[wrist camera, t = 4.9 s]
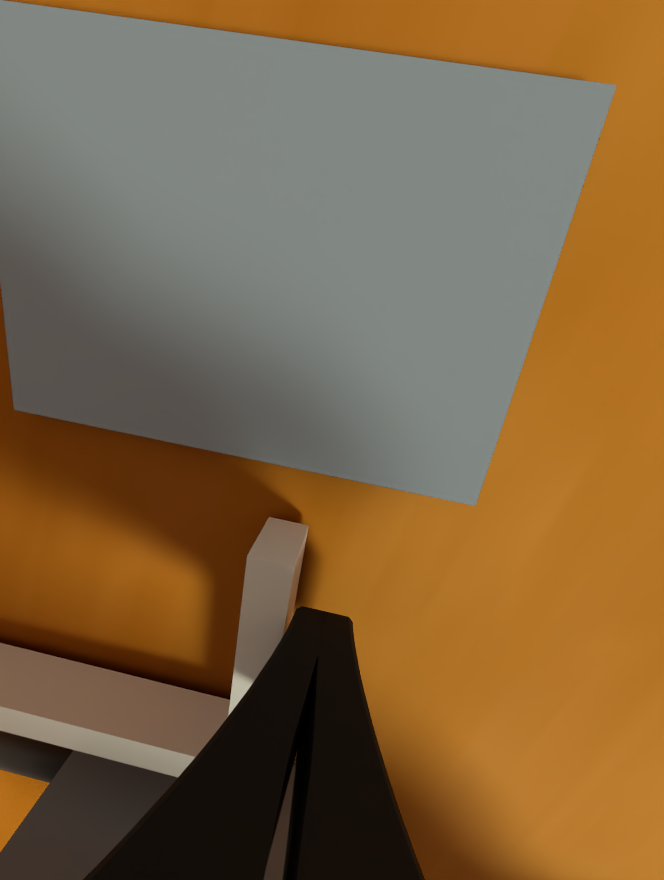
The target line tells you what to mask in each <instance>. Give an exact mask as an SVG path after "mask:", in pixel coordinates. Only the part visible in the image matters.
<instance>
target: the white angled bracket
mask: <svg viewBox="0 0 664 880" xmlns="http://www.w3.org/2000/svg"><path fill="white" fill-rule="evenodd" d="M308 526H309V525H304V524H300V523H295V522H291V521H286V520H281V519H277V518H272V517H269V518H268V520H267V521H266V523H265V525H264V527H263V528H262V530H261V532H260V534H259V535H258V537H257V539H256V541H255V543H254V544H253V546H252V548H251V550H250V551H249V553H248V555H247V561H246V569H245V578H244V586H243V595H242V603H241V612H240V620H239V629H238V637H237V646H236V654H235V663H234V672H233V680H232V689H231V697H230V700H228V699H224V698H220V697H216V696H212V695H208V694H204V693H200V692H196V691H192V690H188V689H184V688H180V687H176V686H172V685H168V684H164V683H160V682H156V681H152V680H148V679H144V678H140V677H136V676H132V675H128V674H124V673H120V672H116V671H112V670H108V669H104V668H100V667H96V666H92V665H88V664H84V663H80V662H76V661H72V660H68V659H64V658H60V657H56V656H52V655H48V654H43V653H39V652H35V651H31V650H27V649H23V648H19V647H15V646H11V645H7V644H3V643H0V731H4V732H8V733H12V734H15V735H19V736H23V737H27V738H31V739H34V740H38V741H42V742H46V743H50V744H53V745H57V746H61V747H65V748H68V749H72V750H76V751H80V752H84V753H87V754H91V755H95V756H99V757H103V758H106V759H110V760H114V761H118V762H122V763H125V764H129V765H133V766H137V767H140V768H144V769H148V770H152V771H156V772H159V773H163V774H167V775H171V776H175V777H179V776H180V775H181V774H182V772H183V771H184V770H185V769H186V768H187V767H188V765H189V764H190V763H191V762H192V761H193V760H194V758H195V757H196V756H197V755H198V754H199V752H200V751H201V750H202V749H203V748H204V746H205V745H206V744H207V743H208V741H209V740H210V739H211V738H212V736H213V735H214V734H215V733H216V731H217V730H218V729H219V728H220V726H221V725H222V724H223V722H224V721H225V720H226V718H227V717H228V716H229V714H230V713H231V712H232V711H233V709H234V708H235V707H236V705H237V704H238V703H239V701H240V700H241V699H242V697H243V696H244V695H245V693H246V692H247V691H248V689H249V688H250V686H251V685H252V684H253V682H254V681H255V679H256V678H257V676H258V675H259V673H260V672H261V670H262V669H263V667H264V666H265V664H266V663H267V661H268V660H269V658H270V657H271V655H272V654H273V652H274V650H275V649H276V647H277V645H278V644H279V642H280V640H281V639H282V637H283V635H284V634H285V632H286V630H287V628H288V626H289V624H290V622H291V620H292V617H293V611H294V606H295V600H296V594H297V589H298V583H299V577H300V571H301V566H302V560H303V554H304V549H305V543H306V537H307V532H308Z"/></svg>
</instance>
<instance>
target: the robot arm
mask: <svg viewBox="0 0 664 880" xmlns="http://www.w3.org/2000/svg"><path fill="white" fill-rule="evenodd" d="M296 752H297V758H296V766H295V775H294V784H293V793H292V801H291V810H290V819H289V828H288V837H287V845H286V854H285V863H284V870H283V877H282V880H425V878H424V876H423V873H422V871H421V868H420V865H419V863H418V860H417V858H416V855H415V852H414V849H413V847H412V844H411V841H410V838H409V836H408V833H407V830H406V827H405V825H404V822H403V819H402V816H401V814H400V811H399V808H398V805H397V802H396V799H395V796H394V793H393V790H392V787H391V784H390V781H389V778H388V774H387V771H386V768H385V765H384V761H383V758H382V755H381V752H380V748H379V745H378V742H377V738H376V735H375V731H374V728H373V724H372V720H371V716H370V712H369V708H368V704H367V700H366V697H365V693H364V689H363V684H362V680H361V675H360V670H359V665H358V660H357V655H356V649H355V642H354V634H353V622H352V621H351V619H350V618H349V617H346V616H342V615H338V614H334V613H329V612H325V611H321V610H316V609H312V608H308V607H304V606H301V607H299V608H297V609H296V611H295V613H294V616H293V618H292V620H291V622H290V624H289V626H288V628H287V630H286V632H285V634H284V635H283V637H282V639H281V640H280V642H279V644H278V645H277V647H276V649H275V650H274V652H273V654H272V655H271V657H270V658H269V660H268V661H267V663H266V664H265V666H264V667H263V669H262V670H261V672H260V673H259V675H258V676H257V678H256V679H255V681H254V682H253V684H252V685H251V686H250V688H249V689H248V691H247V692H246V693H245V695H244V696H243V697H242V699H241V700H240V701H239V703H238V704H237V705H236V707H235V708H234V709H233V711H232V712H231V713H230V714H229V716H228V717H227V718H226V720H225V721H224V722H223V724H222V725H221V726H220V728H219V729H218V730H217V731H216V733H215V734H214V735H213V736H212V738H211V739H210V740H209V741H208V743H207V744H206V745H205V746H204V748H203V749H202V750H201V751H200V752H199V754H198V755H197V756H196V757H195V758H194V760H193V761H192V762H191V763H190V764H189V765H188V767H187V768H186V769H185V770H184V771H183V772H182V774H181V775H180V776H179V777H178V778H177V779H176V781H175V782H174V783H173V784H172V785H171V786H170V787H169V789H168V790H167V791H166V792H165V793H164V794H163V795H162V796H161V797H160V798H159V799H158V801H157V802H156V803H155V804H154V805H153V806H152V807H151V808H150V809H149V810H148V812H147V813H146V814H145V815H144V816H143V817H142V818H141V819H140V820H139V821H138V823H137V824H136V825H135V826H134V827H133V828H132V829H131V830H130V831H129V832H128V833H127V834H126V836H125V837H124V838H123V839H122V840H121V841H120V842H119V843H118V844H117V845H116V846H115V847H114V848H113V849H112V850H111V851H110V852H109V853H108V854H107V855H106V857H105V858H104V859H103V860H102V861H101V862H100V863H99V864H98V865H97V866H96V867H95V868H94V869H93V870H92V871H91V872H90V873H89V874H88V875H87V876H86V877H85V878H84V879H83V880H264V876H265V871H266V867H267V862H268V858H269V855H270V851H271V847H272V843H273V839H274V836H275V832H276V828H277V824H278V821H279V817H280V813H281V809H282V805H283V802H284V798H285V794H286V790H287V786H288V783H289V779H290V775H291V771H292V768H293V764H294V760H295V756H296Z"/></svg>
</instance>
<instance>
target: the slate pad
mask: <svg viewBox="0 0 664 880" xmlns="http://www.w3.org/2000/svg"><path fill="white" fill-rule="evenodd" d="M616 86H617V85H612V84H604V83H597V82H590V81H583V80H575V79H568V78H561V77H554V76H547V75H539V74H532V73H525V72H518V71H510V70H503V69H496V68H489V67H482V66H474V65H467V64H460V63H453V62H445V61H438V60H431V59H424V58H417V57H409V56H402V55H395V54H388V53H380V52H373V51H366V50H359V49H352V48H344V47H337V46H330V45H323V44H315V43H308V42H301V41H294V40H287V39H279V38H272V37H265V36H258V35H250V34H243V33H236V32H229V31H222V30H214V29H207V28H200V27H193V26H185V25H178V24H171V23H164V22H156V21H149V20H142V19H135V18H128V17H120V16H113V15H106V14H99V13H91V12H84V11H77V10H70V9H63V8H55V7H48V6H41V5H34V4H26V3H19V2H12V1H5V0H0V285H1V294H2V304H3V313H4V322H5V331H6V341H7V350H8V359H9V369H10V378H11V387H12V397H13V406H14V410H17V411H22V412H26V413H31V414H36V415H41V416H46V417H50V418H55V419H60V420H65V421H70V422H74V423H79V424H84V425H89V426H94V427H99V428H103V429H108V430H113V431H118V432H123V433H127V434H132V435H137V436H142V437H147V438H151V439H156V440H161V441H166V442H171V443H175V444H180V445H185V446H190V447H195V448H199V449H204V450H209V451H214V452H219V453H223V454H228V455H233V456H238V457H243V458H247V459H252V460H257V461H262V462H267V463H271V464H276V465H281V466H286V467H291V468H295V469H300V470H305V471H310V472H315V473H319V474H324V475H329V476H334V477H339V478H343V479H348V480H353V481H358V482H363V483H367V484H372V485H377V486H382V487H387V488H391V489H396V490H401V491H406V492H411V493H415V494H420V495H425V496H430V497H435V498H439V499H444V500H449V501H454V502H459V503H463V504H468V505H473V506H476V503H477V500H478V497H479V494H480V491H481V488H482V485H483V482H484V479H485V476H486V473H487V470H488V467H489V464H490V461H491V458H492V455H493V452H494V449H495V446H496V443H497V440H498V437H499V434H500V431H501V428H502V425H503V422H504V419H505V416H506V413H507V410H508V407H509V404H510V401H511V399H512V396H513V393H514V390H515V387H516V384H517V381H518V378H519V375H520V372H521V369H522V366H523V363H524V360H525V357H526V354H527V351H528V348H529V345H530V342H531V339H532V336H533V333H534V330H535V327H536V324H537V321H538V318H539V315H540V312H541V309H542V306H543V303H544V300H545V297H546V294H547V291H548V288H549V285H550V282H551V279H552V276H553V273H554V270H555V267H556V264H557V261H558V259H559V256H560V253H561V250H562V247H563V244H564V241H565V238H566V235H567V232H568V229H569V226H570V223H571V220H572V217H573V214H574V211H575V208H576V205H577V202H578V199H579V196H580V193H581V190H582V187H583V184H584V181H585V178H586V175H587V172H588V169H589V166H590V163H591V160H592V157H593V154H594V151H595V148H596V145H597V142H598V139H599V136H600V133H601V130H602V127H603V124H604V121H605V119H606V116H607V113H608V110H609V107H610V104H611V101H612V98H613V95H614V92H615V89H616Z"/></svg>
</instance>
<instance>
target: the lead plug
mask: <svg viewBox="0 0 664 880" xmlns="http://www.w3.org/2000/svg"><path fill="white" fill-rule="evenodd" d="M295 766H296V765H295V764H293V768H292V771H291V775H290V779H289V783H288V786H287V790H286V794H285V798H284V802H283V805H282V809H281V813H280V817H279V821H278V824H277V828H276V832H275V836H274V839H273V843H272V847H271V851H270V855H269V858H268V862H267V867H266V871H265V876H264V880H282V877H283V870H284V863H285V854H286V845H287V837H288V828H289V819H290V810H291V801H292V793H293V784H294V775H295ZM0 770H4V771H8V772H11V773H15V774H19V775H23V776H26V777H30V778H34V779H38V780H41V781H45V782H49V783H50V784H49V785H48V787H47V788H46V789H45V791H44V792H43V794H42V795H41V796H40V798H39V799H38V801H37V802H36V803H35V805H34V806H33V808H32V809H31V810H30V812H29V813H28V815H27V816H26V817H25V819H24V820H23V822H22V823H21V824H20V826H19V827H18V829H17V830H16V831H15V833H14V834H13V836H12V837H11V838H10V840H9V841H8V843H7V844H6V845H5V847H4V848H3V850H2V851H1V852H0V880H83V879H84V878H85V877H86V876H87V875H88V874H89V873H90V872H91V871H92V870H93V869H94V868H95V867H96V866H97V865H98V864H99V863H100V862H101V861H102V860H103V859H104V858H105V857H106V855H107V854H108V853H109V852H110V851H111V850H112V849H113V848H114V847H115V846H116V845H117V844H118V843H119V842H120V841H121V840H122V839H123V838H124V837H125V836H126V834H127V833H128V832H129V831H130V830H131V829H132V828H133V827H134V826H135V825H136V824H137V823H138V821H139V820H140V819H141V818H142V817H143V816H144V815H145V814H146V813H147V812H148V810H149V809H150V808H151V807H152V806H153V805H154V804H155V803H156V802H157V801H158V799H159V798H160V797H161V796H162V795H163V794H164V793H165V792H166V791H167V790H168V789H169V787H170V786H171V785H172V784H173V783H174V782H175V781H176V779H177V778H178V777H175V776H171V775H167V774H163V773H159V772H156V771H152V770H148V769H144V768H140V767H137V766H133V765H129V764H125V763H122V762H118V761H114V760H110V759H106V758H103V757H99V756H95V755H91V754H87V753H84V752H80V751H76V750H72V749H68V748H65V747H61V746H57V745H53V744H50V743H46V742H42V741H38V740H34V739H31V738H27V737H23V736H19V735H15V734H12V733H8V732H4V731H0Z"/></svg>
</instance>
